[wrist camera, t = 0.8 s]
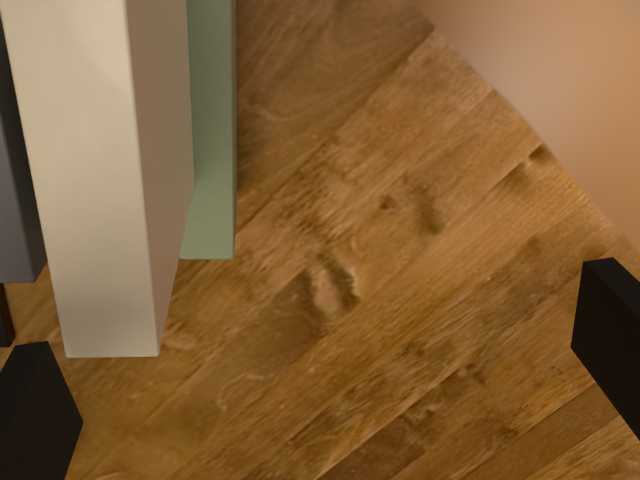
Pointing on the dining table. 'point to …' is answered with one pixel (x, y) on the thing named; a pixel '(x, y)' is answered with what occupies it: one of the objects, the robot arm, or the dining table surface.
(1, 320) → the book rack
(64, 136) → the white book
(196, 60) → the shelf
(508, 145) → the dining table surface
